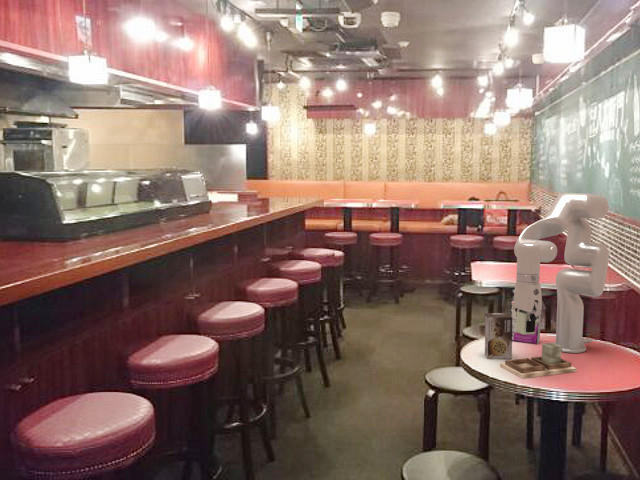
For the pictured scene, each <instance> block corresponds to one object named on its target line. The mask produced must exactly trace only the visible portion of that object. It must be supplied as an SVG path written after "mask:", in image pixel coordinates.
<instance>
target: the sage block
mask: <svg viewBox="0 0 640 480" xmlns="http://www.w3.org/2000/svg"><path fill="white" fill-rule="evenodd" d="M532 315H533V313H532V314H531V316H532ZM526 321H528V317H527V312H525V311H519V312H517V319H516V332H519V333H521V334H524V335H525V334H535V332H526ZM535 324H536V321H535Z"/></svg>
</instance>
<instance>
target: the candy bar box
mask: <svg viewBox="0 0 640 480" xmlns="http://www.w3.org/2000/svg"><path fill="white" fill-rule="evenodd" d="M510 302H511V303H510V315H511V316H512V317H513V319H512V342H517V343H518V342H519V343H523V344H524V343H527V344H533V345H538V344H539V343H540V340H541V321H542V319H541V317H542V314H541V315H540V316H539V317H538V318H537V320H536V324H535V334H525V335H524V334H521V333H519V332H516V319H517V316H516V311H515V309H514V307H513V304H514V299H513V300H512V301H510ZM532 312H533V310H532Z"/></svg>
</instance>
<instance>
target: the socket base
mask: <svg viewBox="0 0 640 480" xmlns="http://www.w3.org/2000/svg"><path fill="white" fill-rule="evenodd" d="M541 344H542V346H541V347H542V348H541V356H535V357H531V358H529V357H524V358H518V359H517V358H515V359H505V361H504V362H500V364H499V367H500V368H502V369H503V370H506V371H508V372H509V373H511V374H514V375H515V376H517V377H519V378H521V379H529V378H530V379H531V378H535V377H537V378H538V377H545V376H553V375H561V374H569V373H575V372H577V371H578V370H577V368H576V367H575V366H572V365H573V364H572V362H570V361H569V360H565V359H563V358H562V352H561V346H559V345H557V344H554V343H553V342H551V343H550V342H549V343H541Z"/></svg>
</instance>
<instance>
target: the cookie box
mask: <svg viewBox="0 0 640 480" xmlns="http://www.w3.org/2000/svg"><path fill="white" fill-rule="evenodd" d="M484 315H485V316H484V317H485V318H484V319H485V320H484V321H485V323H484V324H485V326H484V355H485V357H486V359H488V360H489V359H493V360H495V359H496V360H513V359H512V358H513V357H512V356H513V341H512V319H513V317H512V316H511V313H509V312H504V313H503V312H485V313H484Z"/></svg>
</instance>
